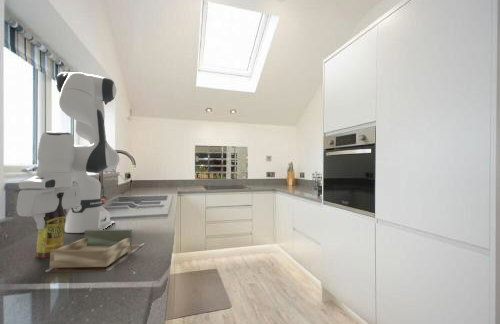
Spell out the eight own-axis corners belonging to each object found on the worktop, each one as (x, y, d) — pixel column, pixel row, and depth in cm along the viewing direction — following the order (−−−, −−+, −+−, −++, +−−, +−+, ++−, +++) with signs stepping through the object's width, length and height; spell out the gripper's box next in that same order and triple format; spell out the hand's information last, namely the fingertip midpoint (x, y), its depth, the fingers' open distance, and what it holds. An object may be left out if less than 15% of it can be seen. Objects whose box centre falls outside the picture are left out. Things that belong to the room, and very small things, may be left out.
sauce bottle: (46, 260, 66) (50, 192, 67) (29, 258, 67) (34, 191, 68) (68, 252, 72) (72, 191, 73) (52, 251, 73) (57, 190, 74)
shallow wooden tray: (85, 252, 71) (87, 229, 71) (131, 252, 72) (132, 229, 72) (49, 271, 57) (50, 242, 57) (105, 270, 58) (107, 242, 58)
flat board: (99, 247, 80) (99, 243, 80) (145, 246, 81) (145, 242, 81) (44, 275, 57) (45, 270, 57) (109, 274, 58) (109, 269, 58)
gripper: (69, 180, 81) (66, 218, 80) (12, 182, 61) (9, 234, 60) (87, 180, 81) (85, 218, 81) (37, 183, 61) (33, 234, 60)
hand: (52, 225), depth 70 cm, fingers closed on sauce bottle, 6 cm apart
